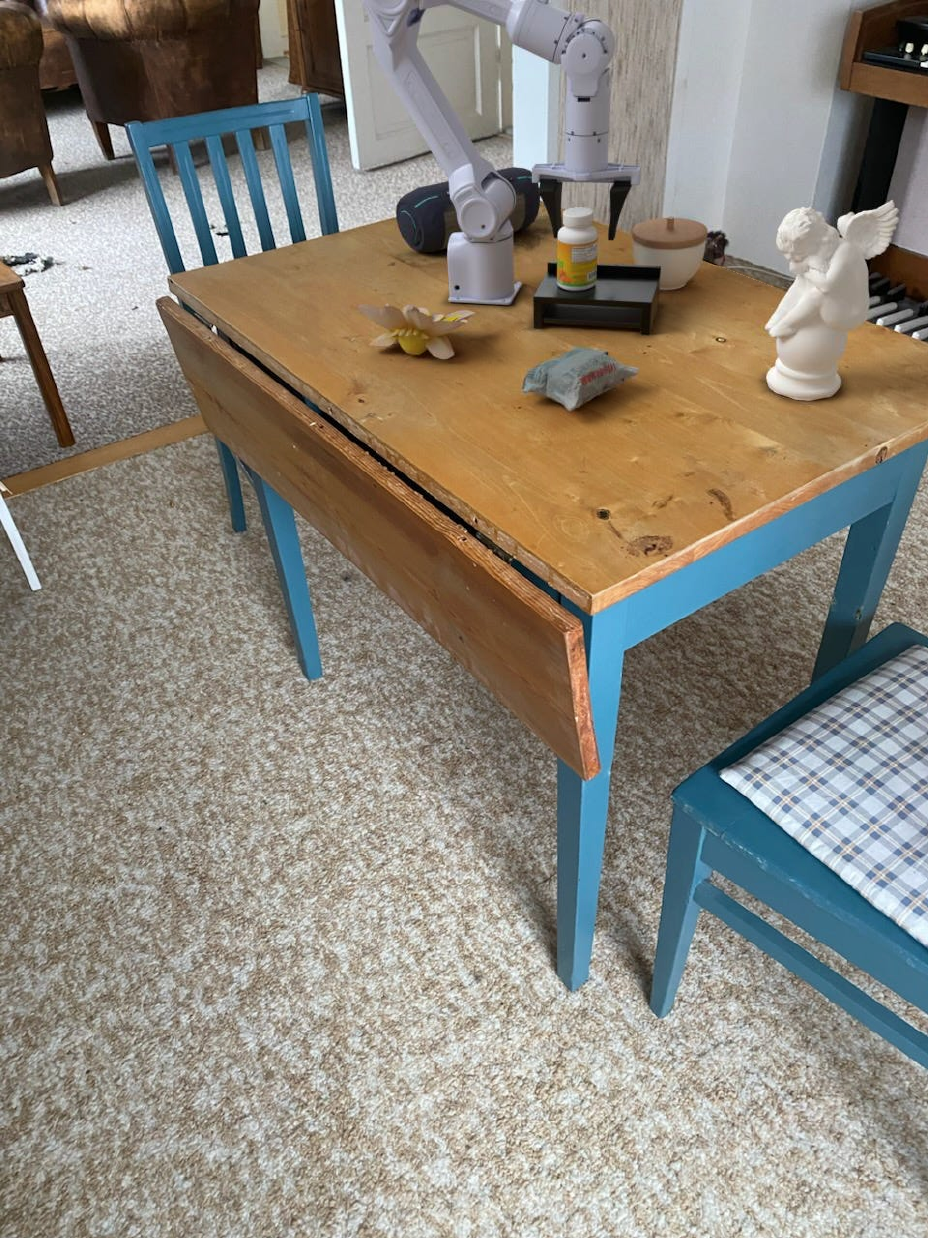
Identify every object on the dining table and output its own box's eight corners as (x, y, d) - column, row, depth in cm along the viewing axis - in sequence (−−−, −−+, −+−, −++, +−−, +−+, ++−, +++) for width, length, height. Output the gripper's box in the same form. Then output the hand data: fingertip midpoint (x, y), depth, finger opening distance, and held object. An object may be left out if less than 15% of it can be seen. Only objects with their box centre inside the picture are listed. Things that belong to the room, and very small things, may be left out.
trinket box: (698, 268, 146) (705, 204, 140) (705, 295, 138) (712, 228, 132) (628, 269, 147) (631, 206, 141) (630, 296, 139) (634, 230, 133)
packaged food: (637, 390, 116) (639, 351, 113) (570, 425, 111) (570, 385, 108) (584, 369, 122) (585, 332, 118) (518, 402, 116) (517, 364, 113)
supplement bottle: (554, 278, 134) (554, 206, 128) (592, 275, 134) (594, 203, 128) (560, 293, 130) (561, 219, 123) (599, 289, 130) (602, 216, 124)
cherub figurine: (745, 389, 115) (773, 198, 101) (781, 350, 123) (812, 167, 109) (846, 411, 109) (891, 213, 95) (878, 369, 117) (924, 179, 103)
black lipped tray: (533, 328, 132) (533, 287, 129) (548, 300, 140) (548, 261, 136) (649, 334, 128) (652, 293, 125) (658, 305, 136) (661, 265, 132)
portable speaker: (420, 264, 154) (414, 200, 147) (393, 247, 161) (387, 185, 154) (551, 232, 162) (551, 169, 156) (520, 217, 169) (519, 156, 163)
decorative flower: (499, 325, 129) (483, 258, 122) (462, 377, 123) (443, 311, 116) (406, 317, 136) (386, 253, 128) (367, 366, 130) (343, 302, 123)
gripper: (526, 138, 123) (527, 244, 132) (638, 139, 120) (632, 248, 128) (537, 124, 128) (538, 227, 137) (646, 125, 125) (639, 231, 134)
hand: (584, 236), depth 133 cm, fingers open, 7 cm apart
